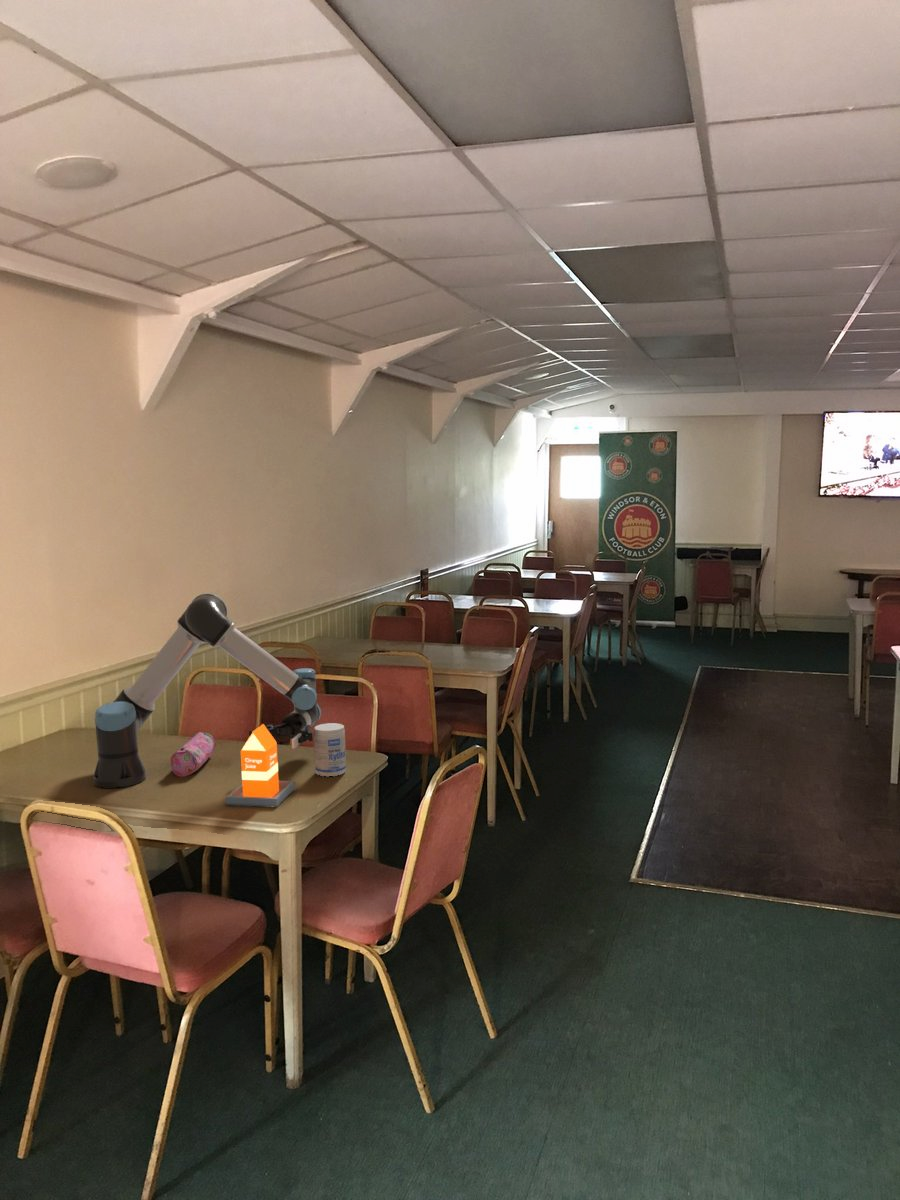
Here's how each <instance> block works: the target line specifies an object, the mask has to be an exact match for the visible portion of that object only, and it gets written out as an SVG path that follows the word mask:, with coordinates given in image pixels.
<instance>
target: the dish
mask: <svg viewBox="0 0 900 1200" xmlns="http://www.w3.org/2000/svg"><path fill="white" fill-rule="evenodd" d="M294 789H295V790H296V781H295V780H294V781H293V780H279V791H278V792H277V793H276V794H275V795H274V796H273V797H247V796H243V785H242V783H241V784H239V786H237V787H236V788H235V789H234V790H232V791H230V793H229V794H227V796H225V804H226V805H225V806H227V805H236V806H235V807H251V806H270V807H269V808H272V807H271V806H274V807H273V808H275V807H277V806H278V805H279V804H280V803H281V802H282V801H283V800H284V799H285V798H286V797H287V796H288V795H289V794H290V793H291V792H292V791H293V790H294ZM295 790H294V791H295ZM294 791H293V792H294ZM293 792H292V793H293ZM292 793H291V794H292ZM291 794H290V795H291ZM290 795H289V796H290ZM289 796H288V797H289ZM288 797H287V798H288ZM287 798H286V799H287ZM286 799H285V800H286ZM285 800H284V801H285ZM284 801H283V802H284ZM283 802H282V803H283ZM282 803H281V804H282ZM281 804H280V805H281ZM280 805H279V806H280ZM279 806H278V807H279ZM278 807H277V808H278Z"/></svg>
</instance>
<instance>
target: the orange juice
mask: <svg viewBox="0 0 900 1200" xmlns="http://www.w3.org/2000/svg"><path fill="white" fill-rule="evenodd" d="M265 726H266V725H265V724H264V723H262V724H261V725H260V726H259V727H257V728H255V729H256V730H255V729H253V730H254V731H253V732H252V734H251V736H250V737H248V738H249V739H248V738H247V740H246V742H244V743H245V744H244V745H243V747H241V748H242V749H241V750H240V762H241V763H240V764H241V784H242V785H243V796H247V797H273V796H274V795H275V794H276V793H277V792H278V791H279V781H280V779H279V762H278V745H277V741H276V739H275V738H274V736H273V737H272V735H271V734H270V732H269V731H268V730H267V728H266V727H265Z"/></svg>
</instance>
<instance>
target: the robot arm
mask: <svg viewBox="0 0 900 1200" xmlns="http://www.w3.org/2000/svg"><path fill="white" fill-rule="evenodd" d="M226 605H227V604H225V602H224V600H223V599H222V598H221V597H219V596H218V595H216V594H213V593H203V594H202V593H201V594H200V595H197V596H196V597H195V598H193V600H192V601H191V603H190V604H189V605H188V606H187V608H186V609H185V610H184V612H183V613H182V614H181V616H180V617H179V618H178V619H177V622H176V623H177V629H175V631H174V632H173V633H172V635H171V636H170V637H169V639H168V640H167V641H166V643H165V644H164V645H163V646H162V648H161V649H160V650H159V651H158V653H157V654H156V655H155V657H154V658H152V660H151V661H150V663H149V664H148V665H147V667H146V668H145V669H144V670H143V672H142V673H141V674H140V675H139V676H138V677H137V679H136V680H135V682H134V683H133V684H132V685H131V686H126V687H124V688H123V689H122V690H121V692H120V693H119V695H117V696H116V698H115V700H113V701H112V702H108V703H105V704H102V705H100V706H99V707H98V708H97V709H96V710H95V713H94V723H95V724H94V725H95V735H96V736H95V737H96V745H97V746H96V748H97V758H98V759H97V761H96V765H95V769H94V774H93V784H95V785H96V786H95V785H94V786H95V787H97V786H98V788H101V787H103V788H102V789H118V788H117V787H120V788H125V787H130V785H131V786H134V785H136V784H140V783H142V782H143V781H145V780H146V778H147V771H146V768H145V765H144V763H143V762H142V759H141V757H140V755H139V745H138V743H139V741H138V732H139V731H140V729H141V728H142V727H143V725H144V724H145V722H146V721H147V719H148V718H149V717H150V716H151V714H152V713H153V712H154V711H155V710H156V706H155V702H156V701H157V699H158V698H159V697H160V695H161V694H162V693H163V692H164V691H165V689H166V688H167V687H168V685H169V684H170V683H171V682H172V680H173V679H174V677H176V675H177V674H178V673H179V671H181V669H182V668H183V667H184V665H185V664H186V662H187V661H188V660H189V658H191V656H192V655H193V654H194V652H195V651H196V650H197V649H198V647H199V646H200V645H202V644H209V645H210V646H212V647H213V648H220V649H221V650H223V651H224V652H225V653H226V654H227V655H229V656H231V657H232V658H233V659H235V660H236V661H237V662H239V663H240V664H242V666H244V667H246V668H247V669H248V670H249V671H251V672H252V673H254V674H255V675H256V676H258V677H259V678H260V679H261V680H263V681H264V682H266V684H268V685H270V686H271V687H272V688H274V689H275V690H277V692H279V693H280V694H282V695H283V696H284V697H285V698H287V699H288V700H290V701H291V703H292V704H293V711H291V712H290V713H288V714H287V715H286V716H285V717H284V718H283V719H282V721H281V722H280V724H277V725H274V724H273V723H269V724H268V725H264V726H265V727H266V728H267V730H268V731H269V732H270V734H271V735H272V737H273V738H274V737H275V738H280V737H286V738H289V739H291V749H293V750H294V749H296V748H297V747H298V746H299V745H300V744H304V743H305V742H307V741H309V742H314V735H313V731H312V730H311V729H312V728H311V727H313V726H314V725H317V723H318V721H319V720H320V718H321V716H322V709H321V707H320V705H319V704H318V701H317V698H318V693H317V677H316V671H315V670H314V669H313V668H307V667H303V668H297V669H294V670H291V669H290V668H289V667H288V666H286V665H285V664H284V663H283V662H281V661H280V660H279V659H277V658H276V657H274V656H273V655H272V654H270V653H269V652H268V651H266V650H265V649H264V648H262V647H261V646H260V645H258V644H257V642H255V641H253V640H252V639H250V638H249V637H248V636H247V635H245V634H244V633H243V632H241V631H240V630H239V629H237V628H236V627H235V623H234V622H233V621H232V620H231V619H230V618H228V610H227V606H226ZM256 729H257V728H255V729H251V730H249V731H248V736H249V737H250V736H251V734H252V732H253V731H254V730H256ZM249 737H248V738H247V740H248V739H249ZM144 779H145V780H144ZM139 782H140V783H139Z"/></svg>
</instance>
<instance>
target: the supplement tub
mask: <svg viewBox="0 0 900 1200" xmlns="http://www.w3.org/2000/svg"><path fill="white" fill-rule="evenodd" d="M313 731H314V732H313V743H314V744H313V745H314V748H313V749H314V772H315V774H316V775H317V776H319V775H320V776H321V777H324V776H326V777H327V778H330V777H329V776H333V777H338V775H339V776H341V775H343V774H344V773H345V772H346V770H347V764H346V763H347V761H346V755H347V753H346V730H345V725H343V724H342V723H335V722H333V723H332V722H327V723H321V724H316V726H314V729H313Z"/></svg>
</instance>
